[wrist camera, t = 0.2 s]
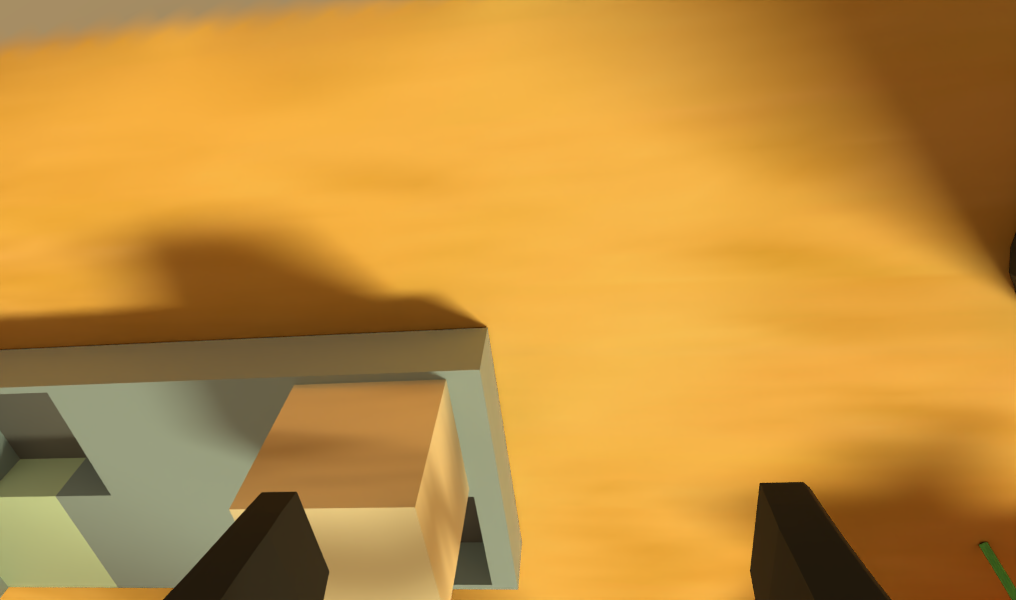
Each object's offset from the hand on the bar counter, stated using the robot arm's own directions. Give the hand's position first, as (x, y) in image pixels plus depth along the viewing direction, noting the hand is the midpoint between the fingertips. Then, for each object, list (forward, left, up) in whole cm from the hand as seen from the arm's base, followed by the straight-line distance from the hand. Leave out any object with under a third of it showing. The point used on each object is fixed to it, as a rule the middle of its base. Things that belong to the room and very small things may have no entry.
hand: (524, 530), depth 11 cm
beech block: (-5, +5, -8) cm, 11 cm away
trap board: (-8, +12, -10) cm, 18 cm away
